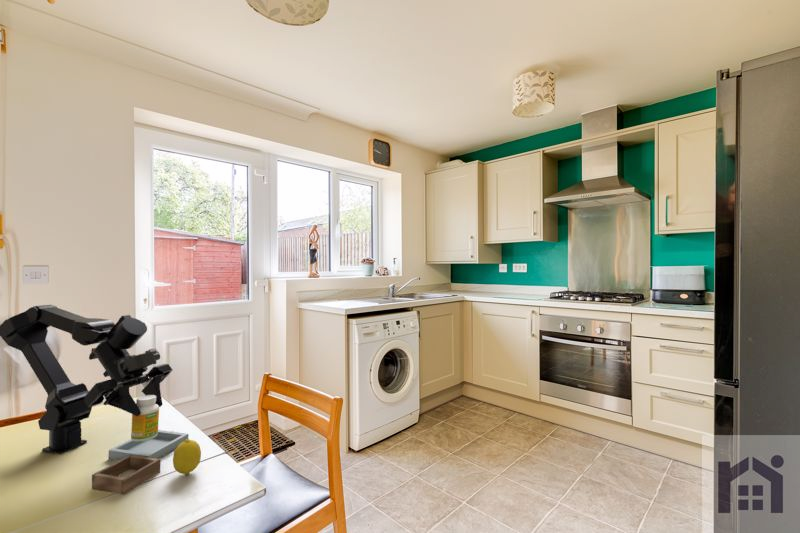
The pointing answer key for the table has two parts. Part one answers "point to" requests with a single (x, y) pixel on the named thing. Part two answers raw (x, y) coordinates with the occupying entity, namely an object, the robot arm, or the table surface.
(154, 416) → the supplement bottle
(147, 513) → the table surface
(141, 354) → the robot arm
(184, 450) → the lemon
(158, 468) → the brown wooden open box
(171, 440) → the parts tray
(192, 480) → the table surface
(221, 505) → the table surface
